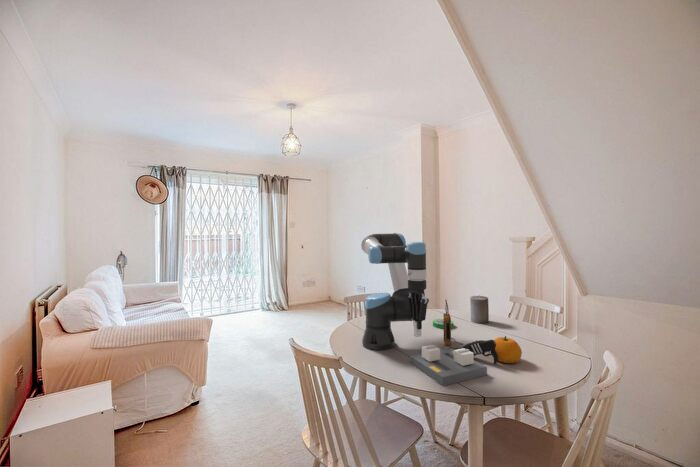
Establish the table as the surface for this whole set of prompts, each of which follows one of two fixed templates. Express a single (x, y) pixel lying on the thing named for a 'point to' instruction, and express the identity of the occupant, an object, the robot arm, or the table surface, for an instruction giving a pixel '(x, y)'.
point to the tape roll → (441, 323)
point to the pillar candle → (479, 309)
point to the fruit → (507, 350)
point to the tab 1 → (431, 353)
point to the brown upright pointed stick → (448, 329)
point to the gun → (483, 348)
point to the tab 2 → (463, 356)
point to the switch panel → (448, 368)
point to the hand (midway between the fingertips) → (417, 336)
